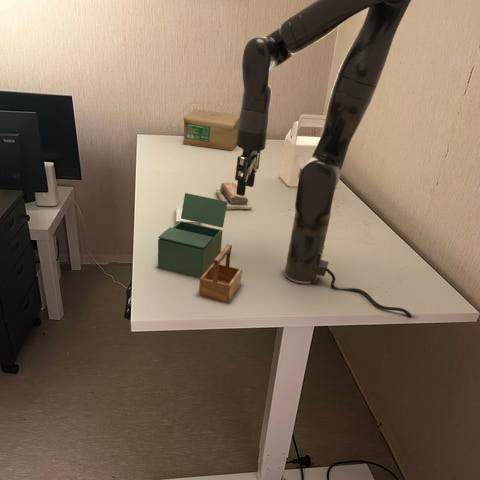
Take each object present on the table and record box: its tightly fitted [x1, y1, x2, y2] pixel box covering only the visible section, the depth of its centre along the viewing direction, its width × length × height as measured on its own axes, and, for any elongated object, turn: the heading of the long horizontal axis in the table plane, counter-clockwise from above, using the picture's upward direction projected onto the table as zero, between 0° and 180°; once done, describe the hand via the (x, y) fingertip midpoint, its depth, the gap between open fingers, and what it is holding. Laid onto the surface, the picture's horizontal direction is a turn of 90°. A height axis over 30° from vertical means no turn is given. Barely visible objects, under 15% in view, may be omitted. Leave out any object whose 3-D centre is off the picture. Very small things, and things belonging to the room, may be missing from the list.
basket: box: [198, 243, 243, 304], centre depth 118 cm, size 10×8×11 cm
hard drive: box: [175, 207, 202, 225], centre depth 158 cm, size 2×8×12 cm
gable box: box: [279, 113, 326, 188], centre depth 199 cm, size 22×13×28 cm, turn 103°
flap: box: [181, 192, 228, 229], centre depth 132 cm, size 7×13×1 cm
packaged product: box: [215, 182, 253, 211], centre depth 176 cm, size 18×5×10 cm
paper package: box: [183, 108, 240, 151], centre depth 244 cm, size 27×26×14 cm
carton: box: [157, 221, 223, 279], centre depth 130 cm, size 15×13×9 cm
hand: (245, 190), depth 127 cm, fingers open, 8 cm apart
